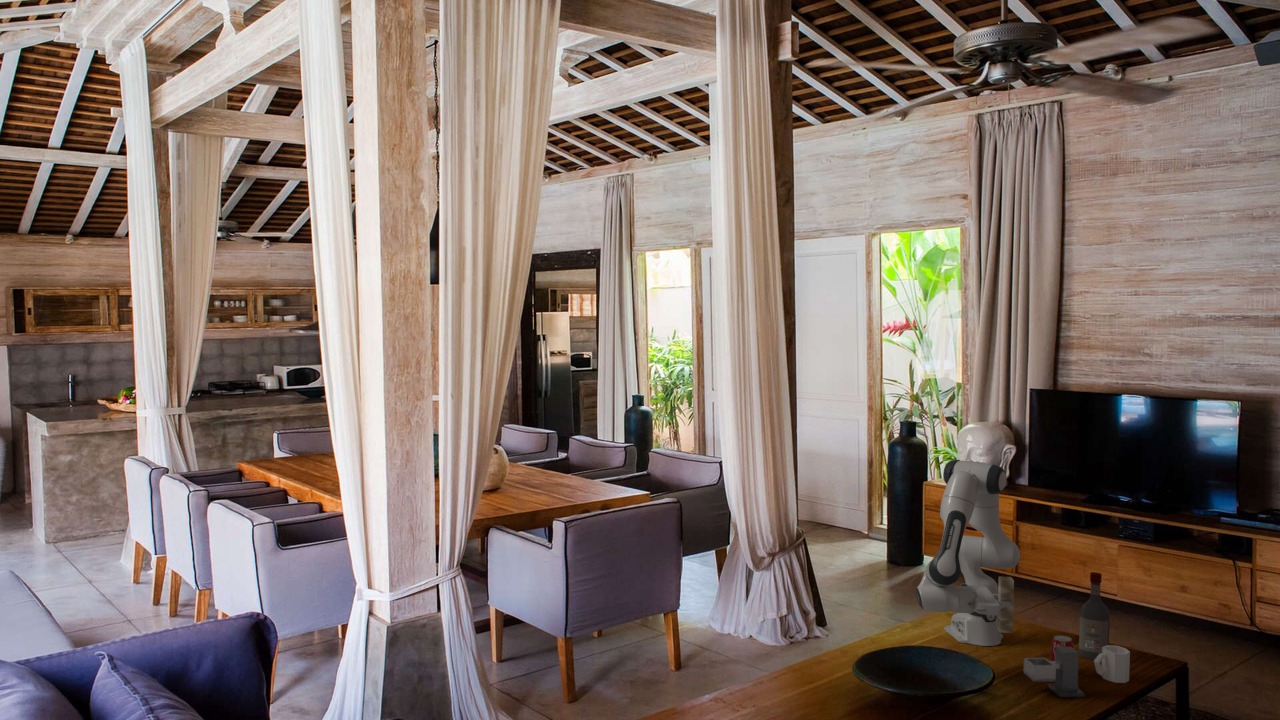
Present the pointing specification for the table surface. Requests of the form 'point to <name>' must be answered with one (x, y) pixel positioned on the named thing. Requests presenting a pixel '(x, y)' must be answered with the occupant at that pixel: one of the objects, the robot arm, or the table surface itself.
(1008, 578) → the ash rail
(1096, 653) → the liquor
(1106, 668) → the mug
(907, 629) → the table surface
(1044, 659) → the cup bracket
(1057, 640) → the soda can
